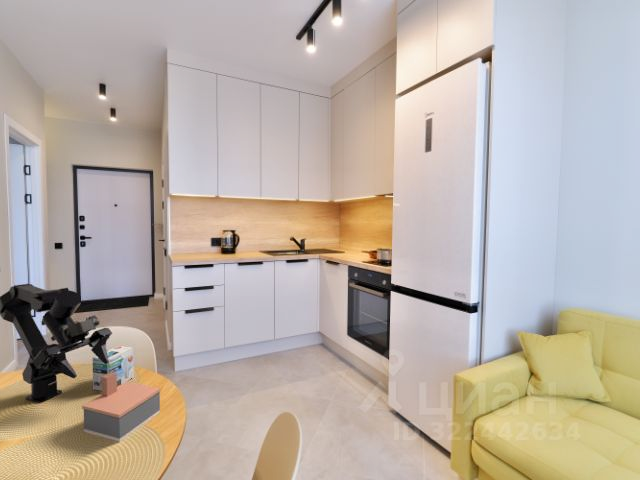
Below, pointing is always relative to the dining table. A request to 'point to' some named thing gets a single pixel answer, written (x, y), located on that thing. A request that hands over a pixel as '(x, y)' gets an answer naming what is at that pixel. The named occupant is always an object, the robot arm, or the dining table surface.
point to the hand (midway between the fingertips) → (92, 369)
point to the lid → (119, 396)
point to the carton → (121, 420)
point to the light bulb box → (114, 366)
